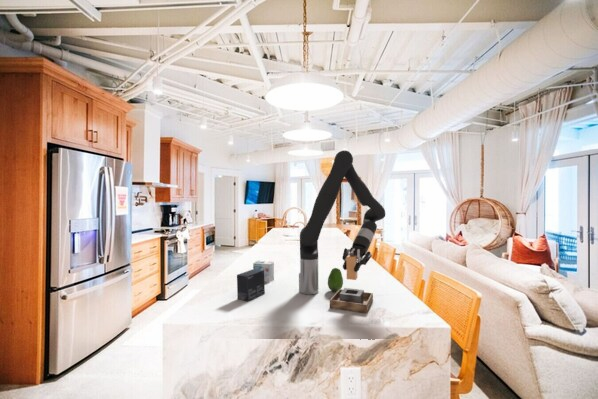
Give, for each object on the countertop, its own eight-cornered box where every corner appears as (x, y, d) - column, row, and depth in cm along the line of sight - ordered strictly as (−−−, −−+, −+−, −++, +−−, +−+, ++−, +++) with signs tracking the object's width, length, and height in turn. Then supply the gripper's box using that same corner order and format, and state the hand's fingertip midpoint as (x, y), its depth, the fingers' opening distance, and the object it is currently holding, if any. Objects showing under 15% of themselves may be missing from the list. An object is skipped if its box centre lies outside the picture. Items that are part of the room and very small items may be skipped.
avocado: (342, 294, 146) (342, 270, 146) (327, 293, 147) (326, 269, 147) (343, 289, 154) (343, 266, 154) (328, 288, 155) (328, 265, 155)
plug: (346, 279, 131) (346, 253, 131) (348, 276, 135) (348, 251, 134) (355, 280, 129) (355, 253, 129) (357, 277, 133) (357, 252, 133)
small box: (254, 291, 151) (254, 268, 151) (265, 293, 147) (264, 270, 147) (236, 299, 140) (236, 274, 139) (247, 302, 136) (247, 276, 136)
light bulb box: (252, 281, 169) (252, 262, 169) (257, 278, 175) (257, 260, 175) (270, 282, 166) (269, 264, 166) (274, 279, 172) (274, 261, 172)
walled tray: (329, 307, 128) (329, 295, 128) (339, 296, 142) (339, 284, 142) (366, 313, 122) (366, 299, 121) (372, 300, 136) (372, 288, 136)
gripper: (347, 233, 142) (332, 262, 133) (374, 236, 132) (360, 267, 124) (353, 243, 146) (339, 272, 137) (380, 246, 136) (367, 277, 128)
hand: (349, 269), depth 131 cm, fingers closed on plug, 5 cm apart
